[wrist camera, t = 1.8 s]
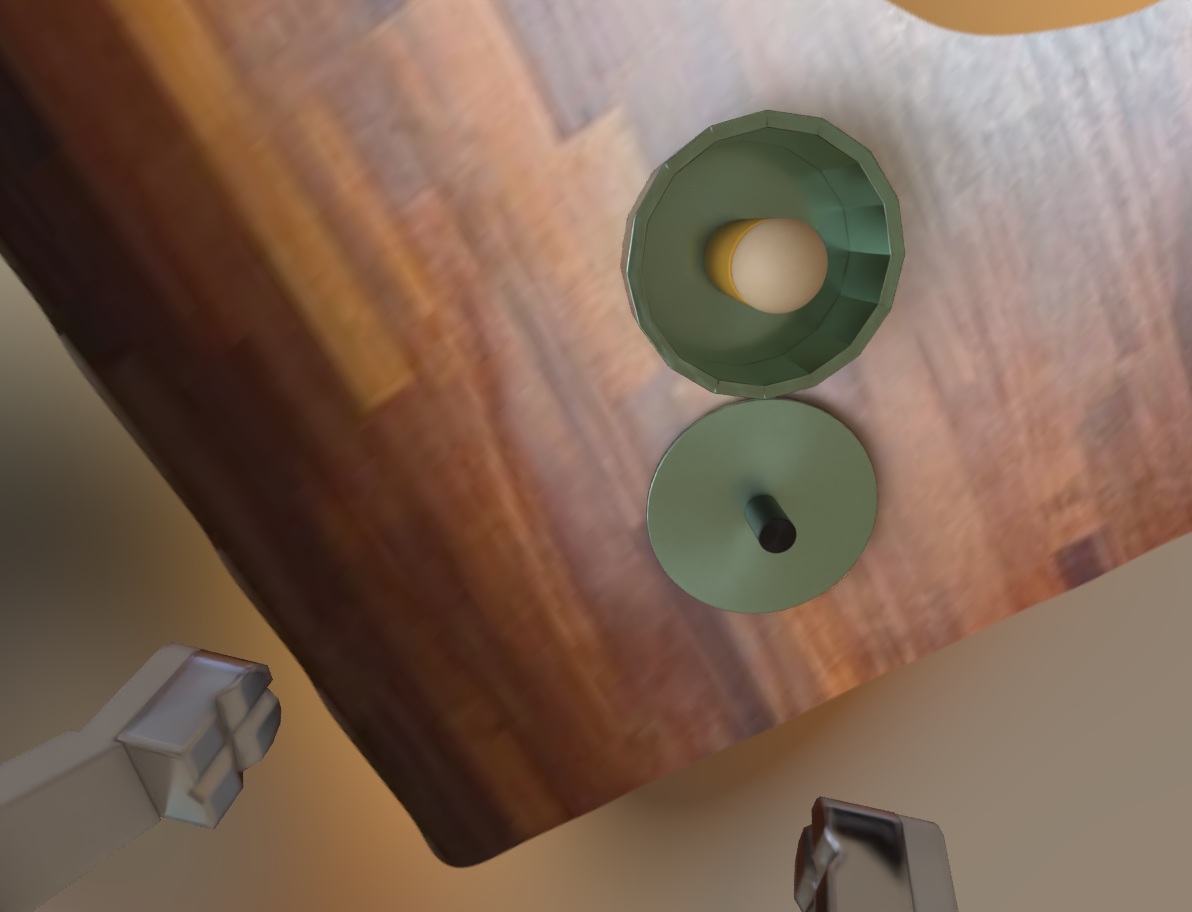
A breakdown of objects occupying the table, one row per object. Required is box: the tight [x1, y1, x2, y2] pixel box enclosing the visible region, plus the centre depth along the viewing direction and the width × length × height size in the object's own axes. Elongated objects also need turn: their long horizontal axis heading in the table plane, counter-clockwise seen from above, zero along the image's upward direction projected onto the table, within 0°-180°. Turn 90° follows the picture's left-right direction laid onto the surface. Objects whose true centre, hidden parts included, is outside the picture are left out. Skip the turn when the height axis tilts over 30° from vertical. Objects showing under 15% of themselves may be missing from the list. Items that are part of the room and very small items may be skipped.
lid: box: [646, 398, 878, 614], centre depth 47 cm, size 16×16×5 cm
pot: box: [620, 110, 905, 400], centre depth 41 cm, size 15×15×6 cm
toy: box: [704, 217, 828, 314], centre depth 38 cm, size 5×5×11 cm
